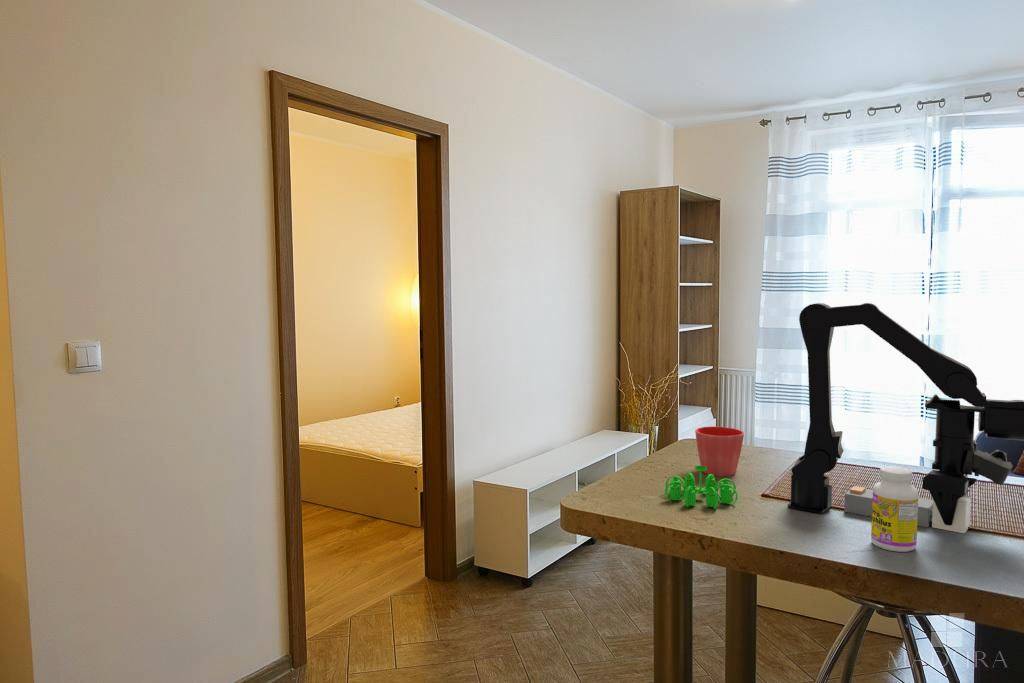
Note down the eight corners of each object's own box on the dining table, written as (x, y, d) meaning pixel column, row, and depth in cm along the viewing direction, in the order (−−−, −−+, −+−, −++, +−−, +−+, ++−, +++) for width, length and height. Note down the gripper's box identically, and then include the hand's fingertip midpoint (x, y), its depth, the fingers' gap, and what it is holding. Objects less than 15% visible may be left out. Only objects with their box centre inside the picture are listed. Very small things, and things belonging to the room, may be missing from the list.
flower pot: (749, 477, 159) (750, 435, 158) (701, 478, 159) (701, 435, 158) (735, 466, 170) (736, 426, 169) (689, 466, 170) (690, 426, 169)
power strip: (844, 511, 135) (845, 490, 134) (853, 504, 139) (854, 483, 139) (928, 527, 126) (928, 505, 125) (934, 519, 130) (935, 497, 130)
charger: (915, 524, 127) (916, 494, 127) (921, 517, 131) (922, 488, 131) (964, 533, 123) (966, 502, 122) (969, 526, 126) (970, 496, 126)
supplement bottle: (862, 539, 120) (865, 465, 119) (899, 538, 121) (902, 464, 120) (886, 554, 113) (889, 475, 112) (925, 552, 114) (928, 474, 113)
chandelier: (749, 497, 145) (749, 464, 144) (723, 517, 133) (724, 481, 132) (680, 486, 154) (680, 454, 153) (650, 503, 142) (650, 469, 141)
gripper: (1003, 451, 112) (998, 546, 114) (1016, 432, 127) (1012, 517, 128) (923, 441, 120) (920, 531, 121) (944, 424, 134) (941, 505, 135)
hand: (950, 521), depth 126 cm, fingers closed on charger, 5 cm apart
